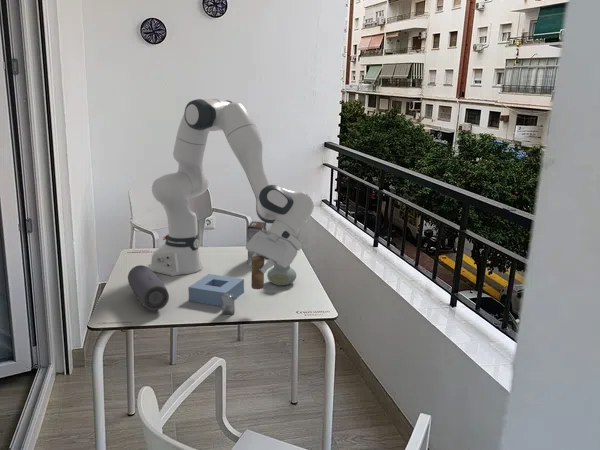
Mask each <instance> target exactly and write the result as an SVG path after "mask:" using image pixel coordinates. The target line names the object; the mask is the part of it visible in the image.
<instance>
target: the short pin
mask: <svg viewBox="0 0 600 450" xmlns="http://www.w3.org/2000/svg"><path fill="white" fill-rule="evenodd" d="M235 304H236V303H235V300H234V294H230V293H227V294H223V295H222V306H221V314H222V316H225V315H231V316H234V315H235V314H234V313H236V312H235V310H236V308H235V307H236V306H235Z"/></svg>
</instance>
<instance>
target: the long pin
mask: <svg viewBox="0 0 600 450" xmlns="http://www.w3.org/2000/svg"><path fill="white" fill-rule="evenodd" d="M261 265H262V266H263V265H265V261H264V257H262V256H254V257H252V268H251V289H253V290H262V289H264V288H265V273H262V272H260V271H259V268H260V267H261Z"/></svg>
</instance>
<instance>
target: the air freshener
mask: <svg viewBox="0 0 600 450" xmlns="http://www.w3.org/2000/svg"><path fill="white" fill-rule="evenodd" d="M266 277H267V279H268V281H269V282H270V283H272V284H274V285H277V286H279V287H280V286H281V287H282V286H283V287H284V286H287V285H290V284H292V283H293V282H294V281H295V280H296V278H297V272H296V271H295V269H294V268H292V267H291V264H290V265H289V266H288V267H286V268H284V267H282V266H279V265H277V264H274V265H273V266H272V267H271V268H269V269H268V271H267V273H266Z"/></svg>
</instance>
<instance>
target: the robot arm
mask: <svg viewBox="0 0 600 450" xmlns="http://www.w3.org/2000/svg"><path fill="white" fill-rule="evenodd" d="M218 131H222V132H223V134H224V136H225V138H226V140H227V143H228V145H229V147H230V148H231V151H232V152H233V154H234V155H235V157H236V159H237V161H238V162H239V164H240V166H241V168H242V169H243V171H244V173H245V175H246V178H247V179H248V182H249V185H250V187H251V189H252V192H253V194H254V197H255V200H256V203H255V205H256V206H255V207H256V209H255V211H256V215H257V217H258V218H259V219H260V221H261V222H266V224H271V225H270V227H269V228H268V229H266V230H261V231H259V232H257V233H256V234H255V235H254V236H253V237H252V238H251V239H250V240H249V242H248V241H247V243H246V244H245V249H246V250H247V252H248V251H249V252H250V253H252V254H253V255H252V257H254V256H262V257H264V259H265V261H266V262H265V263H264V265H263V266H262V265H261V267H260V268H259V271H260V272H262V273H264V274H265V273H266V272H267V270H270V269H271V268H273V267H274V264H277V265H279V266H282V267H284V268H286V267H288V266H289V265H290V266H291V264H292V262H294V260H295V259H296V257H297V254H298V252H299V251H300V250H301V249H302V247H303V246H302V244H301V243H300V242H299V240H298V239H297V236H298V234H299V231H300V230H301V228H303V227H304V226H305V225H306V224H307V221H309V219H310V217H311V215H312V213H313V211H314V205H315V204H314V202H313V200H312V198H311V197H310V196H309V195H308V194H307V193H305V192H304V191H301V190H296V191H295V190H290V189H286V188H283V187H281V186H280V185H277V184H270V182H269V179H268V177H267V175H266V173H265V170H264V165H263V141H262V138H261V134H260V132H259V129H258V127H257V125H256V123H255V121H254V119H253V117H252V116H251V114H250V112H249V111H248V110H247V108H246V107H245V106H244V105H243V104H242V103H240V102H235V101H231V100H227V99H226V100H223V99H220V98H219V99H217V98H211V99H210V98H209V99H207V98H206V99H201V98H198V99H193V100H190V101H189V102H188V103H187V104H186V105H185V108H184V113H183V115H182V118H181V120H180V123H179V126H178V129H177V133H176V137H175V142H174V147H173V152H172V155H173V156H172V157H173V158H174V160H175V161H176V162H177V163H178V169H177V172H172V173H167V174H163V175H162V176H160V177H158V178H156V179H155V180H153V182H152V187H151V192H152V195H153V198H154V199H155V200H156V201H157V202H158V203H160V204H161V205H162V207H163V209H164V211H165V213H166V218H167V226H168V234H166V235H165V236H163V237H162V241H164V240H165V243H164V244H162V245H161V246H160V247H158V248H157V249H156V250H154V251H153V253H152V255H151V261H150V262H149V263H148V264H146V265H145V266H146V267H147V268H149V269H150V270H151V271H152V272H154V273H155V272H156V273H158V274H159V273H160V274H163V275H167V276H172V277H174V276H179V275H188V274H194V273H196V272H200V271H201V270H202V269H203V264H202V261H201V256H200V251H199V247H200V246H199V245H200V243H199V240H200V237H199V233H198V219H197V214H196V213H195V212H194V211H193V210H191V209H190V206H189V203H188V200H191V199H195V198H198V197H199V196H201V195H203V194H204V193H205V192H206V191H207V190H208V188H209V180H208V177H207V175H206V174H205V173H204V170H203V161H204V160H203V159H204V156H205V151H206V146H207V142H208V135H209V133H210V132H218ZM248 266H249V267H250V268H251V269H252V261H251V262H250V264H248Z"/></svg>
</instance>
